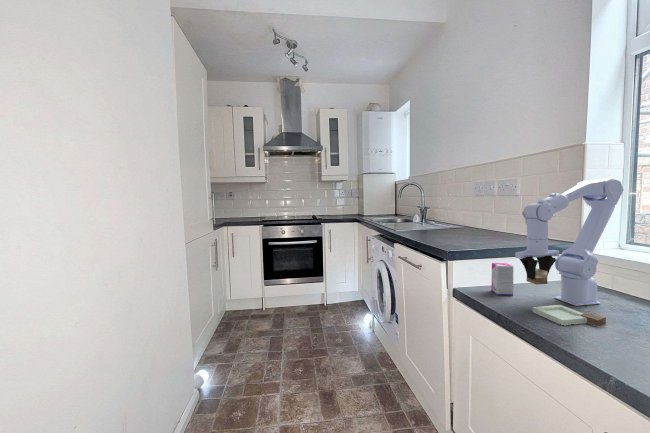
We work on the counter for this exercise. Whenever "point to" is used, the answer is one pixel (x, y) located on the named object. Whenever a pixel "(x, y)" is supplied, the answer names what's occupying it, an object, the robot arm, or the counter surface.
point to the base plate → (560, 314)
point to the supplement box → (502, 279)
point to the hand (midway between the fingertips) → (537, 278)
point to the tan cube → (539, 277)
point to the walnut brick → (594, 319)
